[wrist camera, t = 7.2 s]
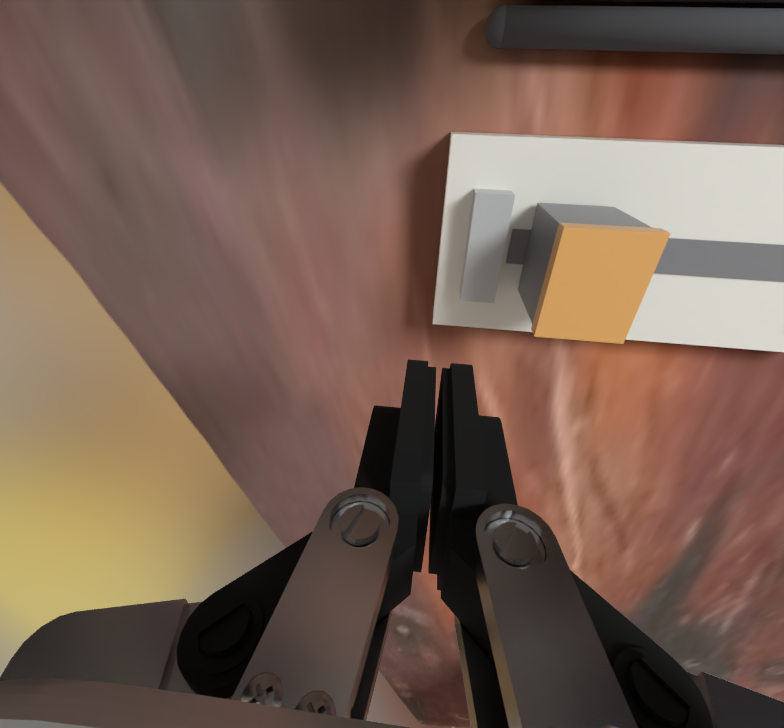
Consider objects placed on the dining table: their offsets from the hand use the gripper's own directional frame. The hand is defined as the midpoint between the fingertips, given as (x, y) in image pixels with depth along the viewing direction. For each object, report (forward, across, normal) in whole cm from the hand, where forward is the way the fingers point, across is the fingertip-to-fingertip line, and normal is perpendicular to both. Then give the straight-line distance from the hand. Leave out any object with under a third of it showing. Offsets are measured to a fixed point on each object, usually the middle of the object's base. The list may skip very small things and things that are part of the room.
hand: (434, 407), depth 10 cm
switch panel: (+18, -13, 0) cm, 22 cm away
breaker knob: (+15, -7, 0) cm, 16 cm away
